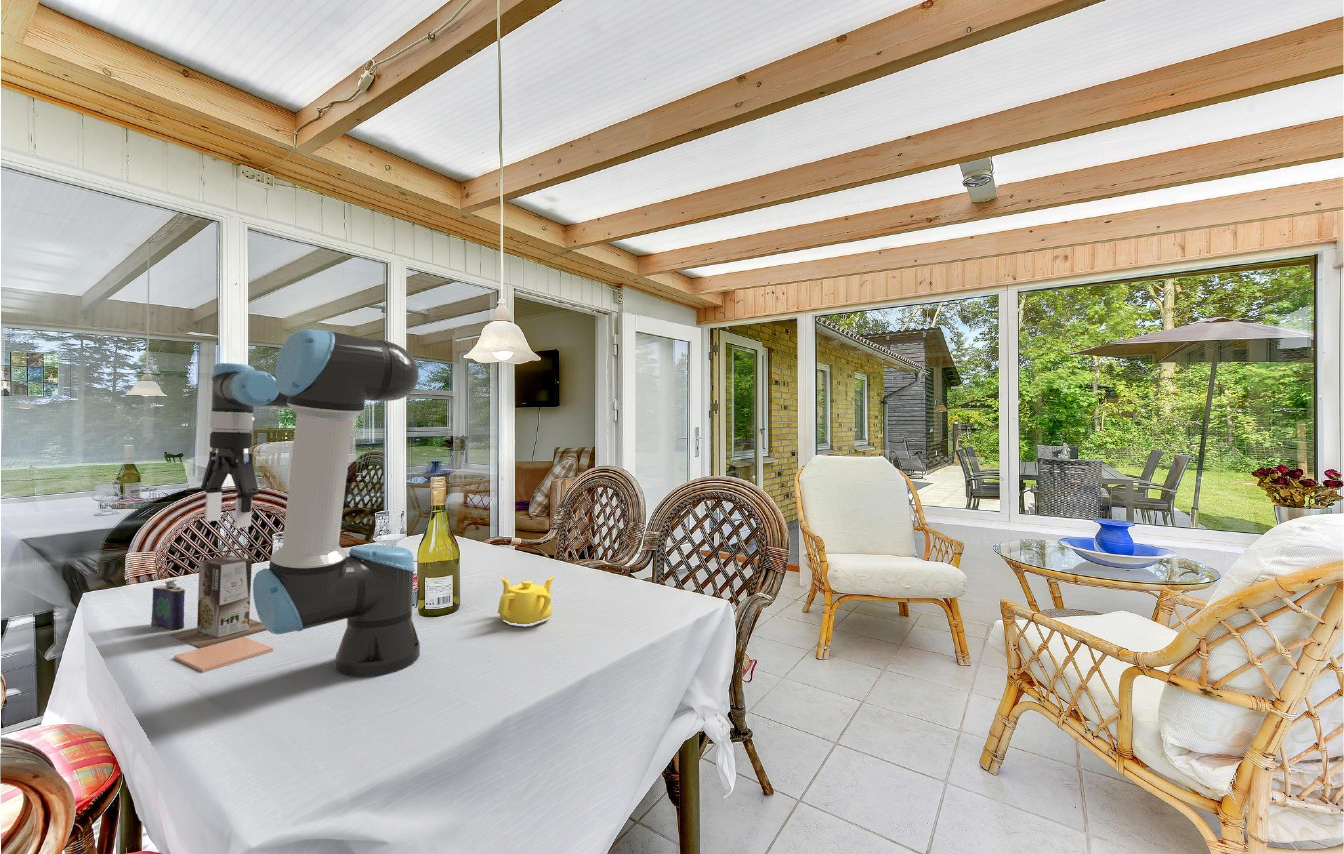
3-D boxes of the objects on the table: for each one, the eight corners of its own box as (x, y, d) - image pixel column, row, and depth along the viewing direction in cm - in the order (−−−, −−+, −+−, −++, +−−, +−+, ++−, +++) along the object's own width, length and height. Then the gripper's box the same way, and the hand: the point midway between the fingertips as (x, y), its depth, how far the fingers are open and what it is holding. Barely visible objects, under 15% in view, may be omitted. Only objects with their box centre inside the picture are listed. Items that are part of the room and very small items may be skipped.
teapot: (553, 611, 143) (554, 574, 143) (552, 629, 130) (553, 588, 130) (499, 613, 140) (501, 575, 140) (492, 631, 127) (494, 589, 127)
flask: (148, 625, 125) (150, 579, 125) (163, 621, 127) (166, 576, 128) (173, 631, 122) (176, 583, 122) (188, 627, 124) (191, 580, 125)
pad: (273, 650, 113) (273, 647, 113) (202, 672, 102) (202, 668, 102) (243, 639, 118) (243, 636, 118) (173, 658, 107) (173, 655, 108)
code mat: (274, 627, 125) (274, 626, 125) (199, 648, 113) (199, 646, 113) (243, 617, 132) (243, 616, 132) (169, 635, 119) (169, 634, 119)
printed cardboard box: (250, 629, 123) (253, 559, 124) (217, 638, 117) (220, 564, 118) (228, 622, 127) (231, 554, 127) (195, 631, 121) (198, 559, 122)
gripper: (279, 433, 121) (275, 527, 120) (224, 430, 132) (220, 516, 132) (240, 432, 114) (236, 532, 114) (185, 429, 126) (181, 520, 125)
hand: (227, 523), depth 123 cm, fingers open, 13 cm apart
